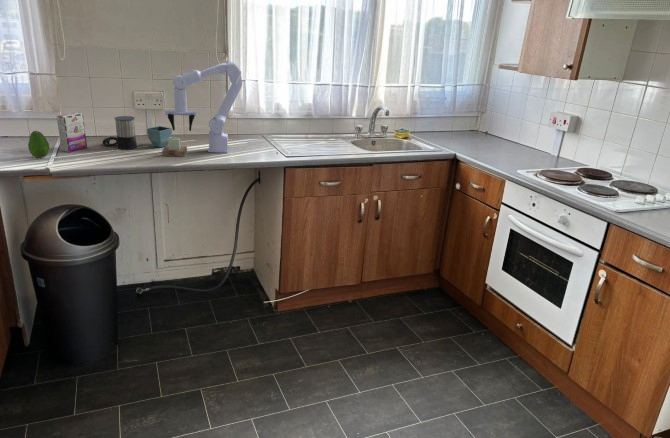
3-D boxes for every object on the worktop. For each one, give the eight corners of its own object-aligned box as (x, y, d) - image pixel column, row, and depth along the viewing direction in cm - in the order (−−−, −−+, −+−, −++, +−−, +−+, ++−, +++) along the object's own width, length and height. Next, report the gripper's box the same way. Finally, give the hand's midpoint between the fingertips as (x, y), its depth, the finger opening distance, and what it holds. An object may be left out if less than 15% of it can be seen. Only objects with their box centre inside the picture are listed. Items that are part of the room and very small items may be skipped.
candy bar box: (79, 146, 243) (75, 112, 237) (87, 147, 242) (83, 113, 236) (60, 151, 233) (55, 115, 227) (69, 152, 232) (64, 117, 226)
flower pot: (147, 146, 253) (146, 128, 250) (160, 143, 260) (159, 125, 257) (160, 149, 249) (159, 131, 246) (173, 146, 257) (172, 128, 253)
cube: (180, 147, 245) (180, 137, 243) (179, 150, 240) (178, 139, 239) (170, 147, 244) (169, 136, 242) (168, 149, 240) (167, 139, 238)
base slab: (187, 151, 249) (186, 146, 248) (184, 156, 240) (184, 151, 239) (165, 150, 247) (165, 145, 246) (162, 155, 238) (162, 150, 237)
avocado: (28, 160, 217) (23, 132, 212) (32, 155, 224) (28, 128, 219) (48, 160, 219) (44, 132, 215) (52, 155, 226) (49, 128, 222)
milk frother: (137, 150, 245) (135, 119, 239) (101, 150, 239) (98, 119, 234) (136, 143, 257) (134, 114, 251) (103, 143, 251) (100, 113, 246)
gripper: (163, 102, 235) (165, 131, 240) (195, 103, 238) (196, 132, 243) (165, 100, 242) (167, 128, 247) (196, 101, 244) (197, 129, 249)
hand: (182, 130), depth 245 cm, fingers open, 7 cm apart
